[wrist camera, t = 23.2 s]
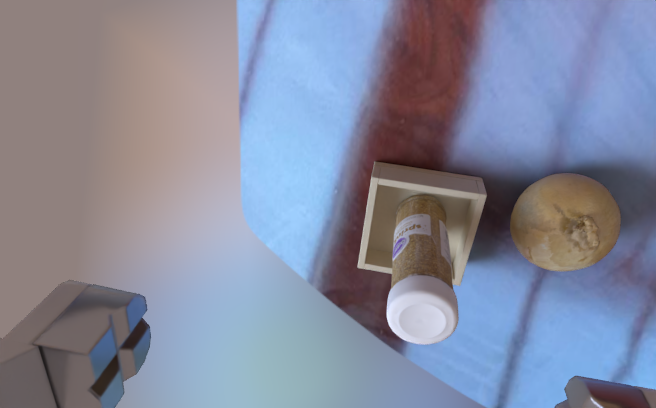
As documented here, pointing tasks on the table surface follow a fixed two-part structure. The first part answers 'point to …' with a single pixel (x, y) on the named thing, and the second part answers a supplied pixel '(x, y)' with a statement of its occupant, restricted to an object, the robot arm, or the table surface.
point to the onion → (565, 222)
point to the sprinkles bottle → (421, 274)
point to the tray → (403, 182)
